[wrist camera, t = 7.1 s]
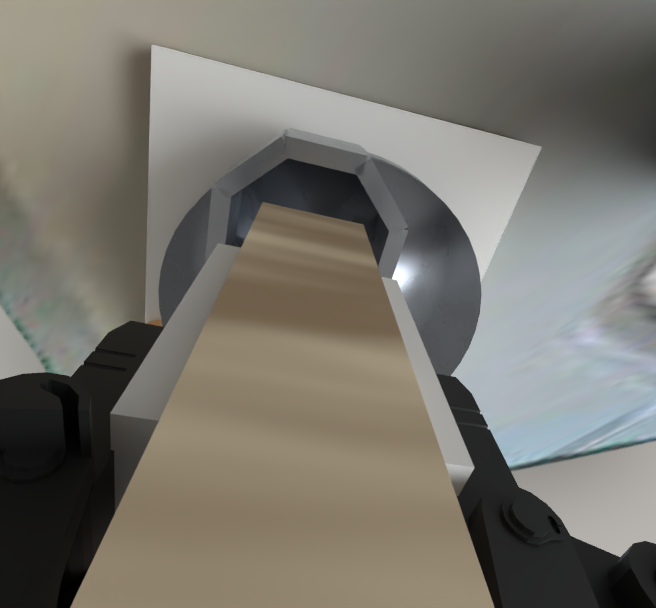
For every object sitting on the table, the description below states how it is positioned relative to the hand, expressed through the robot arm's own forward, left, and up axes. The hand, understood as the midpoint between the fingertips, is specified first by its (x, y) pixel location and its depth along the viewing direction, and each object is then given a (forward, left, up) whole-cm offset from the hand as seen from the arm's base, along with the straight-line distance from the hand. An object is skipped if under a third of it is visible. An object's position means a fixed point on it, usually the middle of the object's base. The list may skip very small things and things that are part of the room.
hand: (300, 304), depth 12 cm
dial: (+4, +2, -9) cm, 10 cm away
